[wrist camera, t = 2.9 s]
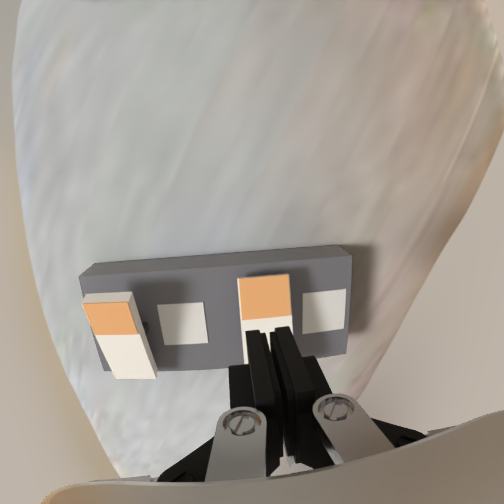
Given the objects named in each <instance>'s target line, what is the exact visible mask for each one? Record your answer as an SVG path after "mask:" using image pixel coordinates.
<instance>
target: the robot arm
mask: <svg viewBox="0 0 504 504" xmlns="http://www.w3.org/2000/svg"><path fill="white" fill-rule="evenodd" d="M245 335H246V345H247V355H248V364H241V365H230V366H229V388H230V408H231V409H230V410H228V411H226V412H225V413H223V414H222V415H221V416H220V418H219V420H218V422H217V427H216V432H215V436H214V437H213V438H211V439H210V440H209V441H207V442H206V443H204V444H203V445H202V446H200V447H199V448H197V449H196V450H195V451H193V452H192V453H190V454H189V455H188V456H186V457H185V458H183V459H182V460H180V461H179V462H177V463H176V464H174V465H173V466H171V467H170V468H168V469H167V470H165V471H164V472H163V473H162V474H161V475H160V476H159V477H157V478H151V476H150V475H148V476H140V477H131V478H121V479H109V480H95V481H90V482H86V483H81V484H74V485H69V486H66V487H62V488H59V489H57V490H55V491H53V492H51V493H50V494H49V495H48V496H46V498H45V499H44V500H43V501H42V503H41V504H504V410H503V411H498V412H494V413H491V414H486V415H484V416H481V417H478V418H475V419H472V420H470V421H468V422H465V423H462V424H460V425H457V426H452V427H447V428H442V429H437V430H431V431H428V432H427V434H426V435H424V434H422V433H420V432H418V431H415V430H412V429H408V428H404V427H401V426H397V425H393V424H390V423H386V422H383V421H380V420H376V419H373V418H370V417H369V416H368V414H367V413H366V412H365V411H364V410H363V408H362V407H361V406H360V405H359V404H358V402H357V401H356V400H355V399H353V398H352V397H350V396H348V395H344V394H333V393H332V391H331V389H330V387H329V385H328V383H327V381H326V378H325V376H324V374H323V372H322V370H321V368H320V366H319V364H318V362H317V360H316V358H315V356H314V355H312V356H305V357H302V356H301V353H300V351H299V349H298V346H297V344H296V341H295V339H294V336H293V334H292V332H291V329H290V327H289V326H285V327H276V328H275V330H274V332H270V348H269V344H268V340H267V337H266V333H260V330H249V331H245ZM270 351H271V352H270ZM283 437H284V442H285V446H286V450H287V454H288V456H293V455H294V459H295V463H302V464H305V465H307V466H309V470H308V471H303V472H297V473H291V474H284V475H277V476H270V475H271V474H272V473H273V472H274V471H275V470H276V469H277V468H278V467H279V466H280V457H283Z"/></svg>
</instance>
